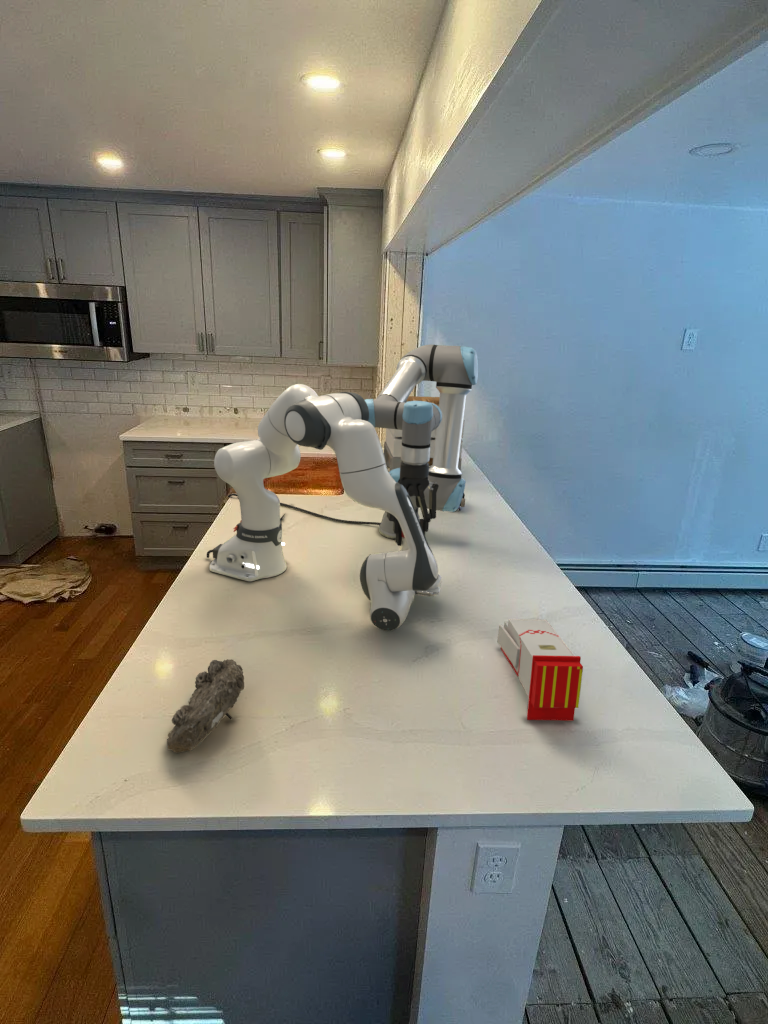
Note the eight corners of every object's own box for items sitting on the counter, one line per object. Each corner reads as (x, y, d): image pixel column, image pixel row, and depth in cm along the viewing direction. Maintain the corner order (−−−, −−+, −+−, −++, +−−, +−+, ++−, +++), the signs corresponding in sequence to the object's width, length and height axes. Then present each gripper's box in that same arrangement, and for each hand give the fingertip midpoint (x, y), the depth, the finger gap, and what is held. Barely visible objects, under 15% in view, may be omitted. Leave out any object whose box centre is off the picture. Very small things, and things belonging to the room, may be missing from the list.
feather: (292, 507, 224) (294, 503, 223) (275, 531, 197) (278, 527, 197) (288, 505, 224) (291, 501, 223) (271, 528, 197) (273, 524, 197)
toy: (543, 604, 136) (592, 662, 106) (538, 656, 138) (584, 727, 109) (493, 603, 135) (528, 661, 106) (489, 655, 138) (522, 726, 109)
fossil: (192, 660, 117) (244, 628, 112) (224, 691, 120) (276, 661, 115) (142, 746, 98) (202, 712, 93) (182, 779, 101) (242, 748, 96)
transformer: (382, 463, 289) (386, 382, 275) (445, 464, 293) (451, 384, 279) (390, 482, 257) (394, 392, 243) (460, 483, 261) (468, 394, 247)
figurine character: (465, 515, 224) (460, 499, 237) (467, 498, 221) (462, 483, 234) (448, 515, 224) (444, 499, 237) (450, 498, 220) (445, 482, 234)
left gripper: (439, 584, 144) (446, 562, 156) (361, 573, 148) (374, 553, 160) (437, 606, 146) (444, 583, 159) (360, 595, 150) (373, 573, 163)
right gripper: (443, 457, 154) (437, 535, 162) (376, 458, 149) (373, 539, 157) (454, 464, 147) (446, 546, 155) (383, 466, 142) (379, 550, 150)
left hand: (408, 568), depth 160 cm, fingers closed on jar, 5 cm apart
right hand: (409, 542), depth 156 cm, fingers closed on lid, 6 cm apart
